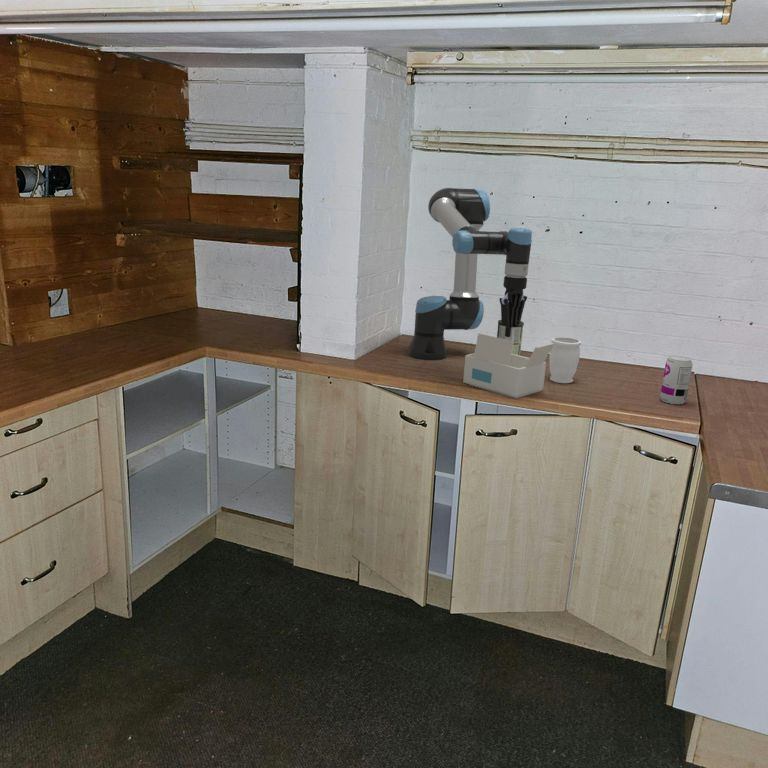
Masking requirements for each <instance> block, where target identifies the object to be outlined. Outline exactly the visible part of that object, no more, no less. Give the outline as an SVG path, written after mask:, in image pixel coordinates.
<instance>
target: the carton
mask: <svg viewBox="0 0 768 768" xmlns="http://www.w3.org/2000/svg"><path fill="white" fill-rule="evenodd" d="M474 353H475V352H473V353H469V354H466V355H465V356H464V357H465V358H464V359H465V360H464V369H463V370H464V371H463V381H462V383H466V384H465V385H467V384H469V385H468V386H470V385H472V386H471V387H474V386H475V388H477V387H478V388H477V389H480V388H481V390H485V391H488V392H491V393H493V394H496V395H497V394H498V395H501V396H505V397H507V398H510V399H515V400H517V399H520V398H521V399H522V398H525V397H527V396H531V395H533V394H537V393H539V392H543V391H544V385H545V384H544V383H545V375H546V368H547V366H546V365H547V361H544V363H543V364H540V365H536V366H532V367H528V368H526V367H525V366H526V364H527V362H528V361H529V359H530V357H527V356H523V355H521V354H520V355H516V354H511V359H510V363H509V366H508V365H504V364H500V363H496V362H492V361H488V360H484V359H481V358H477V357H474Z"/></svg>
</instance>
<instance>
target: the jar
mask: <svg viewBox="0 0 768 768" xmlns="http://www.w3.org/2000/svg"><path fill="white" fill-rule="evenodd" d="M550 341H551V343H553V344H554V345H553V347H552V348H551V350H550V352H549V355H548V356H549V357H548V358H549V372H550V376H549V380H550V381H551V382H554V383H557V384H571V383H573V382H574V379H573V377H574V376H575V373H576V371H577V369H578V365H579V362H580V355H581V351H580V346H581V345H582V341H581V340H579V339H577V338H572V337H564V336H562V337H557V336H556V337H553V338H551V340H550Z"/></svg>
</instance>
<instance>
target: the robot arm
mask: <svg viewBox="0 0 768 768" xmlns="http://www.w3.org/2000/svg"><path fill="white" fill-rule="evenodd" d="M427 207H428V213H429V215H430V217H431V218H432V220H434V221H435V222H437V223H439V224H440V225H441V226H442V227H443V228H444V229H445V231H446V232H448V234H449V235H450V236H451V238H452V241H451V243H452V247H453V251H454V252H455V256H454V257H455V258H454V275H453V276H454V278H453V279H454V280H453V291H452V292H451V293H450V294H449V299H447V297H446V296H443V295H429V296H423V297H421V298H419V299H418V300H417V301H416V304H415V305H416V307H415V310H414V311H415V317H414V319H415V320H414V331H413V332H414V335H413V337H412V340H411V343H410V346H409V348H408V356H410V357H413V358H415V359H419V360H428V361H429V360H433V361H435V360H437V361H438V360H444V359H446V358H447V355H448V352H447V348H446V343H445V336H444V335H445V331H446V330H448V331H450V330H454V331H458V330H464V331H468V330H475V329H477V328H479V327H480V325H481V324H482V321H483V318H484V313H485V310H484V309H485V307H484V302H482V301H481V300H480V296H479V294H477V292H476V286H477V274H478V273H477V271H478V270H477V269H478V255H503V256H505V257H506V258H505V265H504V272H503V273H504V275H505V276H504V277H503V285H502V286H503V287H504V288H505V292H504V296H503V297H500V298H499V304H500V316H501V317H500V320H501V321H502V325H503V326H505V327H506V328H505V340H510V341H514V335H515V327H519V324H520V321H522V316H523V312H524V309H525V305H526V301H527V299H528V296H527V295H524V290H525V289H527V283H528V277H527V276H528V272H529V264H530V255H531V250H532V249H531V247H532V242H533V241H532V235H533V233H532V230H531V229H530V228H522V227H511V228H509V230H508V231H503V230H501V231H484V230H483V231H481V230H480V229H481V228H482V227H484V222H486V221H487V220H488V219H489V217H490V214H491V204H490V198H489V196H488V194H487V192H485V190H483V189H482V190H481V189H475V188H458V187H457V188H456V187H455V188H453V187H445V188H441V189H439V190H437V191H436V192H435V193H434V194H433V195H431V197H430V199H429V201H428V206H427ZM517 320H518V321H517Z"/></svg>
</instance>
